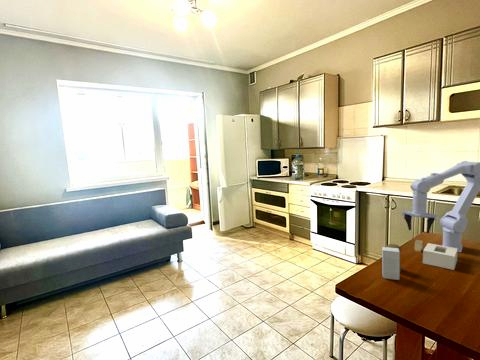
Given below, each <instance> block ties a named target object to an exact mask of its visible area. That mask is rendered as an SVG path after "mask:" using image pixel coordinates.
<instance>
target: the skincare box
mask: <svg viewBox="0 0 480 360" xmlns="http://www.w3.org/2000/svg"><path fill="white" fill-rule="evenodd" d="M381 251H382V252H381V253H382V255H381V257H382V259H381V261H382V263H381V265H382V266H381V268H382V269H381V270H382V271H381V273H382V279H387V280H395V281H396V280H397V281H400V275H401V274H400V272H401V271H400V265H401V259H400V258H401V256H400V255H401V254H400V253H401V251H400V252H399V249H398V248H390V247H387V246H382V247H381Z"/></svg>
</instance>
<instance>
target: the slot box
mask: <svg viewBox="0 0 480 360" xmlns="http://www.w3.org/2000/svg"><path fill="white" fill-rule="evenodd" d="M422 250H423V251H422V264H425V265H429V266H434V267H438V268H442V269H447V270H452V271H455V268H456V265H457V263H458V252H457V251H458V248H453V247H447V246H442V244H436V243H430V242H429V243H428V242H427V244H426V246H425V247H424V248H423V249H422Z"/></svg>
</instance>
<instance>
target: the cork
mask: <svg viewBox="0 0 480 360" xmlns="http://www.w3.org/2000/svg"><path fill="white" fill-rule="evenodd" d="M386 247H390V248H398V249H399V252H400V253H401V247H400V246H399V245H398V244H395V243H389V244H387V245H386ZM401 265H402V264H400V272H401V271H402V266H401Z"/></svg>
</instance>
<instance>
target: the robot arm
mask: <svg viewBox="0 0 480 360" xmlns="http://www.w3.org/2000/svg"><path fill="white" fill-rule="evenodd" d="M460 174H461V175H462V176H463V178H464V179H465V180H466V182H467V183H466V185H465V186H464V188H463V190H462V192H461V194H460V195H459V197H458V199H457V201H456V202H455V204H454V206H453V208H452V210H450V211H447V212H446V213H445V214H444V216H442V217H441V218H440V220H439V219H438V218H439V215H438V214H433V213H428V212H427V209H428V193H429V192H430V191H431V189H433V188H434V187H438V186H439V185H442V184H443V183H444V181H445V180H447V179H451V178H453V177H455V176H458V175H460ZM410 189H411V191H412V210H411V211H408V210H402V211H401V216H403V219H404V220H405V222H406V224H407V228H408V231H411V230H412V220H413V219H412V218H413V217H416V218H424V219H426V222H427V224H426V225H427V228H426V233H427V234H429V233H430V231H431V228H432V225H433V224H434V221H435V220H439V225H440V226H441V227H442V244H441V245H442V246H447V247H453V248H458V251H457V253H462V250H463V248H464V246H463V245H462V237H463V235H462V234H463V233H464V232H465V231H466V229H467V224H468V222H469V220H468V218H467V217H466V215H467V214H468V211H469V210H470V208H471V206H472V204H473V202H474V201H475V199H476V197H477V196H478V194H479V192H480V161H479V162H475V161H466V160H463V161H461V162H459V163H456V164H455V165H454V166H452V167H451V168H447V169H446V170H444V171H442V172H440V173H438V172H432V173H430V175H428V176H426V177H421V178H420V179H415V180H414V181H412V183H411V184H410Z"/></svg>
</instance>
